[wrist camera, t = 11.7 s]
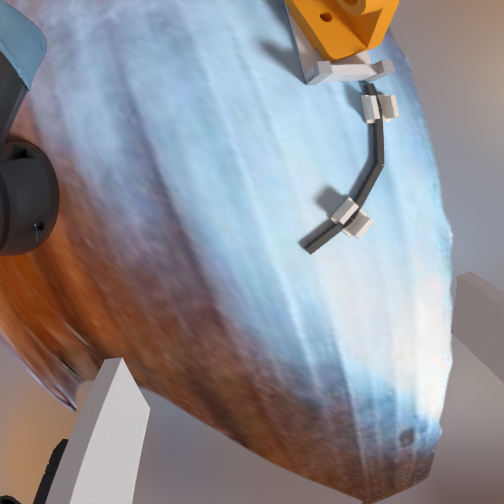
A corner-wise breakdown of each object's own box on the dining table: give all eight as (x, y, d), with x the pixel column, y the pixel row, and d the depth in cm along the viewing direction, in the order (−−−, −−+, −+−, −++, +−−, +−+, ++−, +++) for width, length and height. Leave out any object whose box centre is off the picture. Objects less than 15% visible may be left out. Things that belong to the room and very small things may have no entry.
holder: (305, 85, 31) (320, 73, 26) (275, -25, 26) (283, -47, 21) (372, 81, 32) (395, 72, 26) (340, -24, 26) (355, -43, 21)
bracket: (279, -2, 27) (301, -55, 16) (327, -16, 26) (361, -63, 15) (324, 66, 30) (368, 33, 19) (371, 49, 30) (423, 19, 18)
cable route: (302, 250, 38) (308, 257, 35) (364, 81, 32) (374, 77, 29) (345, 265, 39) (353, 272, 36) (405, 105, 33) (415, 102, 30)
